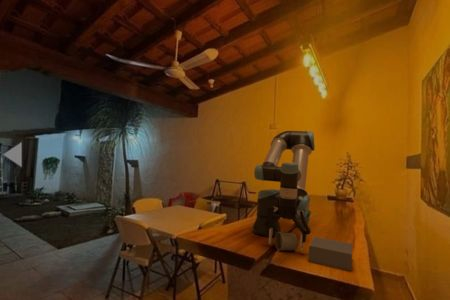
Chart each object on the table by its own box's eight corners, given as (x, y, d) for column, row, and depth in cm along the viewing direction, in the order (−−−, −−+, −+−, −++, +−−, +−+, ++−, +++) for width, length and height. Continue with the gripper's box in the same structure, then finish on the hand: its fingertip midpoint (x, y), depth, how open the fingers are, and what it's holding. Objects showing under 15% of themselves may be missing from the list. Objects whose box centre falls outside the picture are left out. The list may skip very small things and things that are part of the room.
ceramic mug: (299, 252, 108) (299, 234, 108) (281, 253, 106) (282, 234, 106) (287, 244, 118) (288, 228, 118) (271, 245, 116) (271, 228, 116)
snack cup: (299, 223, 163) (300, 207, 164) (315, 227, 156) (316, 210, 156) (286, 226, 152) (287, 209, 153) (302, 230, 145) (303, 212, 145)
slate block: (308, 261, 99) (309, 245, 99) (313, 250, 112) (314, 236, 112) (351, 271, 92) (351, 254, 92) (351, 258, 105) (352, 243, 105)
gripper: (258, 194, 114) (255, 242, 113) (316, 202, 102) (313, 255, 101) (263, 193, 120) (261, 238, 119) (318, 200, 109) (316, 250, 108)
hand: (285, 246), depth 110 cm, fingers open, 13 cm apart
